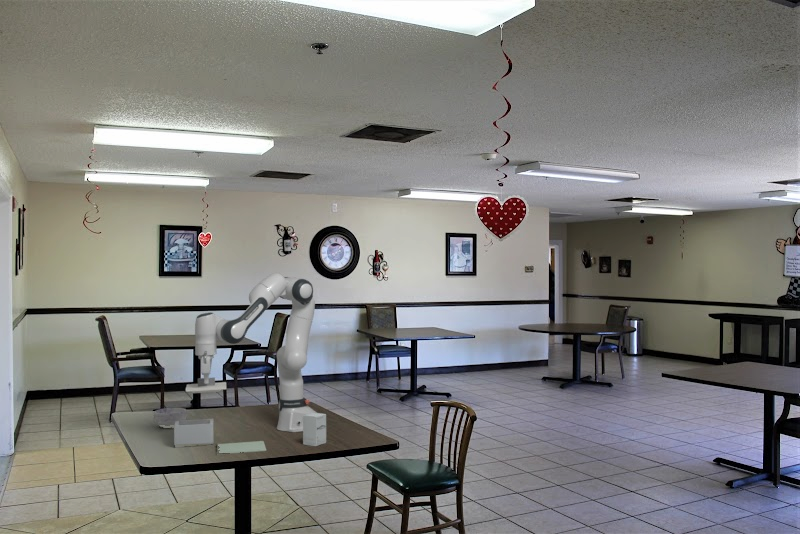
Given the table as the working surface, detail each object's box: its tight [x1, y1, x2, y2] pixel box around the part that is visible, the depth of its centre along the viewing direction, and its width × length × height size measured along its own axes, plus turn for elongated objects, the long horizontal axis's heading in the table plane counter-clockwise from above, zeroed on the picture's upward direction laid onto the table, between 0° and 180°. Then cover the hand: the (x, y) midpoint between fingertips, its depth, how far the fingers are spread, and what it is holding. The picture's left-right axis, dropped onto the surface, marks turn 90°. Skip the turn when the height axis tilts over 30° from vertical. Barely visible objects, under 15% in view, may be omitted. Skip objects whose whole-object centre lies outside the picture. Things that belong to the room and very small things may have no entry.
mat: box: [217, 440, 267, 454], centre depth 291 cm, size 20×16×1 cm
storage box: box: [173, 418, 215, 445], centre depth 300 cm, size 16×12×9 cm
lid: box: [185, 377, 227, 394], centre depth 298 cm, size 17×13×5 cm
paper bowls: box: [153, 407, 188, 426], centre depth 334 cm, size 15×15×8 cm
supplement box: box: [302, 412, 327, 447], centre depth 297 cm, size 7×7×13 cm
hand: (206, 382), depth 298 cm, fingers closed on lid, 3 cm apart
